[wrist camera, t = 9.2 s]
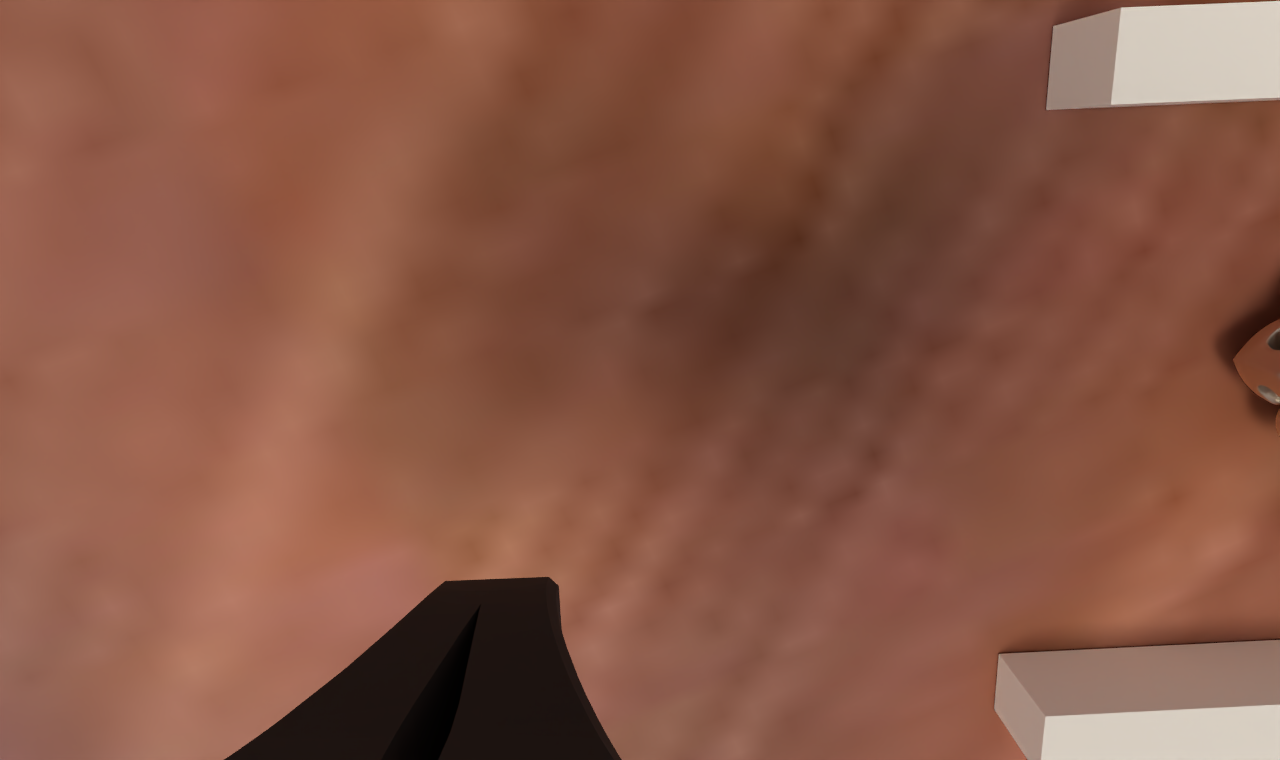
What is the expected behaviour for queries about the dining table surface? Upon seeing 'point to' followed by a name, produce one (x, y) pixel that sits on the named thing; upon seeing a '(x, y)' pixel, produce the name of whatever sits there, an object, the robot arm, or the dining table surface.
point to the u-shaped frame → (1173, 674)
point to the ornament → (1262, 365)
